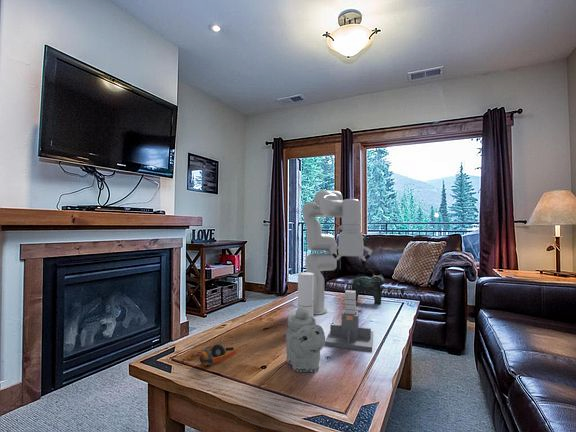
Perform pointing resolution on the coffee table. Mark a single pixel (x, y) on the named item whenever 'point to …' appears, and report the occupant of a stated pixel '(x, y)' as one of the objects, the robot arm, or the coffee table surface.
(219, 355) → the headphones
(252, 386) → the coffee table surface
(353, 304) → the steel post
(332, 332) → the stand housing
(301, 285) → the cylindrical container
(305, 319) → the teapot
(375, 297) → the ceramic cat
